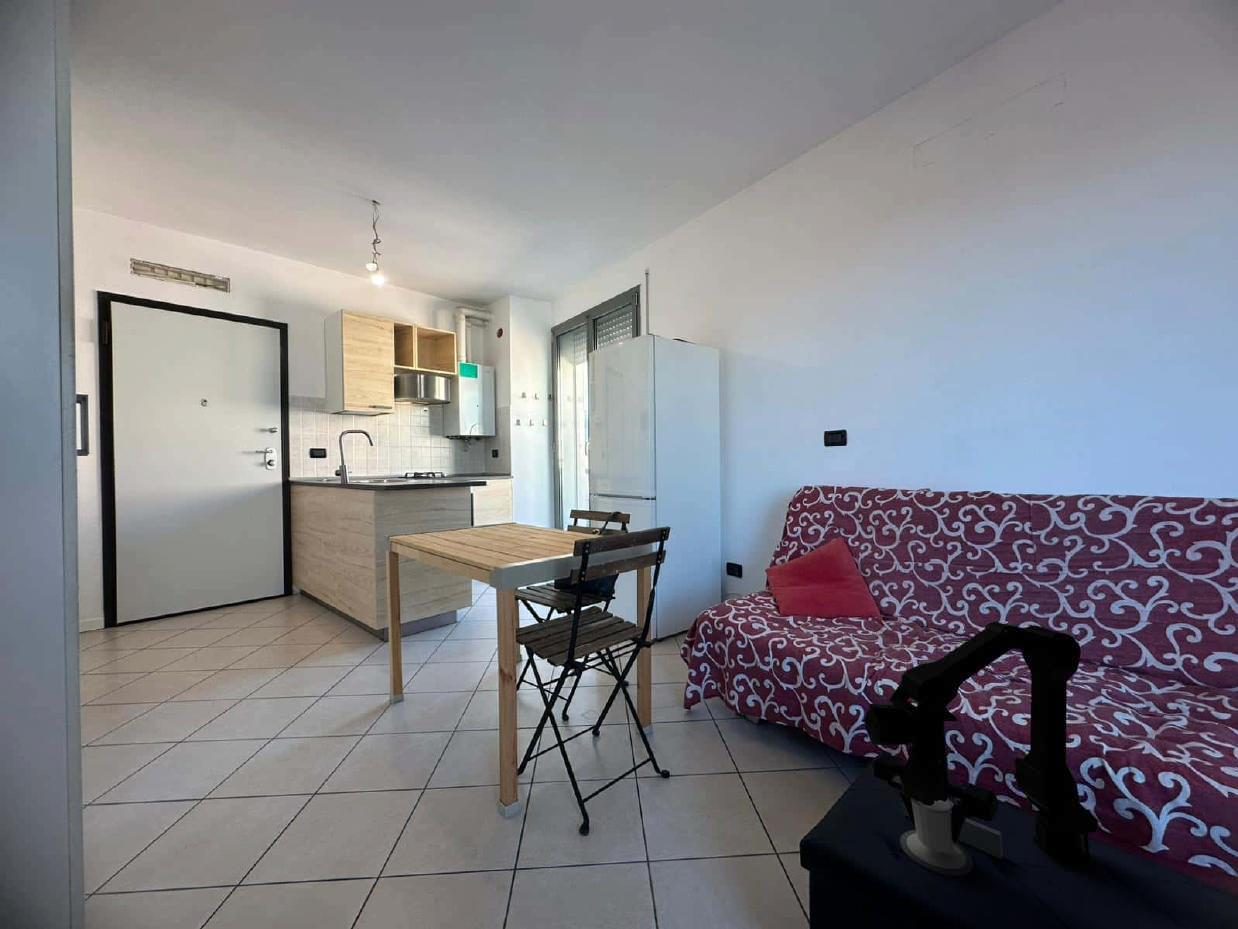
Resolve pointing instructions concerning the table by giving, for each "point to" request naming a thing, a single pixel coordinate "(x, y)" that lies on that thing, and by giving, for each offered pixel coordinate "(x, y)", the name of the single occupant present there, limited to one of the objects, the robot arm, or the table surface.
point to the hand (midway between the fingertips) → (934, 832)
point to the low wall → (978, 836)
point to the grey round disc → (937, 856)
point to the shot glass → (934, 825)
